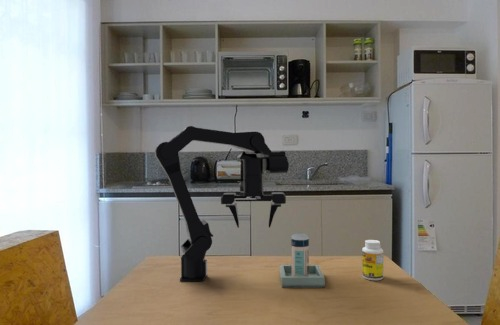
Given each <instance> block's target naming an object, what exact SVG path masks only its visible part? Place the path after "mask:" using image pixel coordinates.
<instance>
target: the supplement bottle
mask: <svg viewBox="0 0 500 325" xmlns="http://www.w3.org/2000/svg"><path fill="white" fill-rule="evenodd" d="M361 250H362V251H361V258H362V260H361V261H362V262H361V264H362V265H361V266H362V267H361V273H362V274H361V275H362V277H363V278H364V279H365V280H369V281H381V280H382V279H384V250H383V248H382V247H381V241H380V240H376V239H365V240H364V247H362V249H361Z"/></svg>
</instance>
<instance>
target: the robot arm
mask: <svg viewBox="0 0 500 325" xmlns="http://www.w3.org/2000/svg"><path fill="white" fill-rule="evenodd" d="M193 141H194V142H200V143H207V144H208V143H209V144H216V145H224V146H230V147H233V148H236V149H238V150H241V152H239V154H238V155H237V156H235V157H236V158H235V159H236V160H242V161H243V162H242V163H243V164H242V166H243V181H239V192H240V193H241V194H239V195H238V194H236V192H223V194H222V195H221V196H220V204H221V205H225V208H229V210H230V212H231V214H232V217H233V218H234V221H235V225H236V227H237V228H238V229H239V228H240V219H239V210H238V203H237V202H270V206H269V208H270V209H269V215H268V216H269V217H268V228H269V229H270V228H271V226H272V223H273V219H274V217H275V213H277V212H276V211H277V210H278V208H280V207H282V205H285V204H286V203H287V201H286V200H287V198H286V193H284V192H283V191H282V192H271V194H264V172H265V173H266V174H267V175H280V174H281V175H285V174H287V173H288V170H289V163H290V162H289V161H288V157H287V156H286V151H285V150H281V151H271V149H270V148H269V146H268V145H267V143H266V141H265V137H264V136H263V134H262V133H261V132H260V131H241V132H229V131H224V130H218V129H209V128H203V127H196V126H193V125H191V126H190V125H189V126H187V127H185V128H184V129H183V130H182V131H181V132H180V133H178V134H177V135H176V136H174V137H173V138H171V139H170V140H169V141H163V142H161V143H159V144H158V145H157V146H156V147H155V148H154V156H155V159H156V160H157V162H158V163H159V165H160V167H161V168H162V170H163V172H164V173H165V174H166V176H167V178H168V180H169V182H170V186H171V187H172V190H173V193H174V196H175V198H176V201H177V203H178V207H179V209H180V210H181V213H182V216H183V219H184V222H185V228H186V234H187V235H186V236H187V239H186V240H185V241H184V242H183V244H181V246H180V248H181V251H182V253H183V254H182V255H181V256H180V260H181V261H180V267H181V268H180V275H181V277H180V278H179V282H203V281H204V280H205V278H206V277H207V275H208V260H207V259H206V253H207V251H208V250H209V249H210V248H211V246H212V244H213V239H212V238H213V237H214V234H212V232H211V230H210V229H211V228H210V225H209V222H208V221H207V220H206V219H202V220H201V219H200V217H199V215H198V213H197V212H198V211H197V210H196V207H195V205H194V202H193V199H192V197H191V194H190V192H189V190H188V186H187V184H186V181H185V178H184V176H183V173H182V169H181V163H180V162H181V160H180V156H179V152H181V151H182V150H183V149H184V148H186V146H188V145H189V144H190V143H191V142H193ZM245 151H246V152H248V153H246V152H245ZM249 152H252V153H249ZM259 155H260V157H258V156H259ZM261 155H262V156H261ZM242 193H243V195H242Z"/></svg>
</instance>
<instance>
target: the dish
mask: <svg viewBox="0 0 500 325" xmlns="http://www.w3.org/2000/svg"><path fill="white" fill-rule="evenodd" d="M279 275H280V284H281V288H301V289H302V288H303V289H304V288H305V289H306V288H325V287H326V286H325V285H326V280H325V275H324V274H323V271H322V270H321V268H320V265H319V264H309V276H292V264H280V265H279Z"/></svg>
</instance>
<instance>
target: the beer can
mask: <svg viewBox="0 0 500 325" xmlns="http://www.w3.org/2000/svg"><path fill="white" fill-rule="evenodd" d="M290 239H291V241H290V244H291V265H292V276H309V265H310V249H309V248H310V243H309V242H310V241H309V239H310V238H309V236H308V234H307V233H306V232H294V233H292V235H291V237H290Z"/></svg>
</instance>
